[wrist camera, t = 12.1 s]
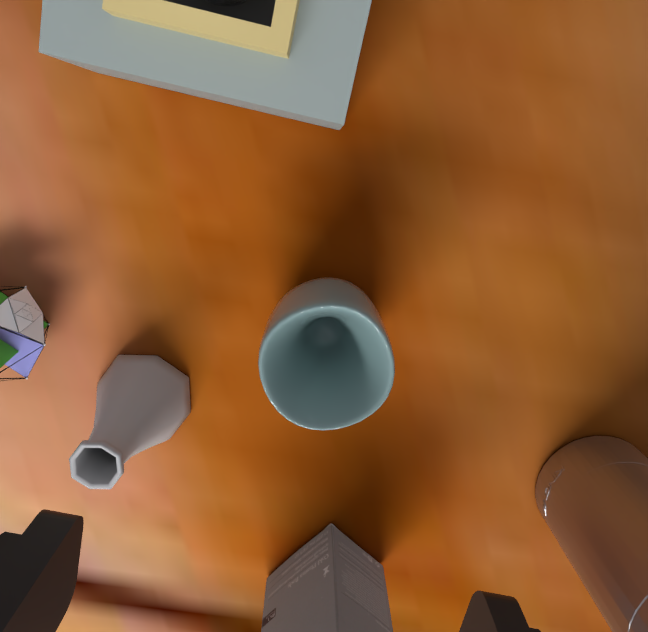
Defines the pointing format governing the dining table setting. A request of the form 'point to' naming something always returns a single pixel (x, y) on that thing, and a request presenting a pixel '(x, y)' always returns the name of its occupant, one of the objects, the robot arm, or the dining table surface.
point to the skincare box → (327, 589)
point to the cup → (326, 355)
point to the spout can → (225, 2)
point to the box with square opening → (220, 49)
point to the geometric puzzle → (20, 331)
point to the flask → (130, 416)
